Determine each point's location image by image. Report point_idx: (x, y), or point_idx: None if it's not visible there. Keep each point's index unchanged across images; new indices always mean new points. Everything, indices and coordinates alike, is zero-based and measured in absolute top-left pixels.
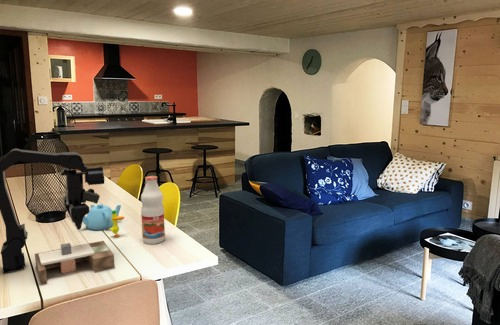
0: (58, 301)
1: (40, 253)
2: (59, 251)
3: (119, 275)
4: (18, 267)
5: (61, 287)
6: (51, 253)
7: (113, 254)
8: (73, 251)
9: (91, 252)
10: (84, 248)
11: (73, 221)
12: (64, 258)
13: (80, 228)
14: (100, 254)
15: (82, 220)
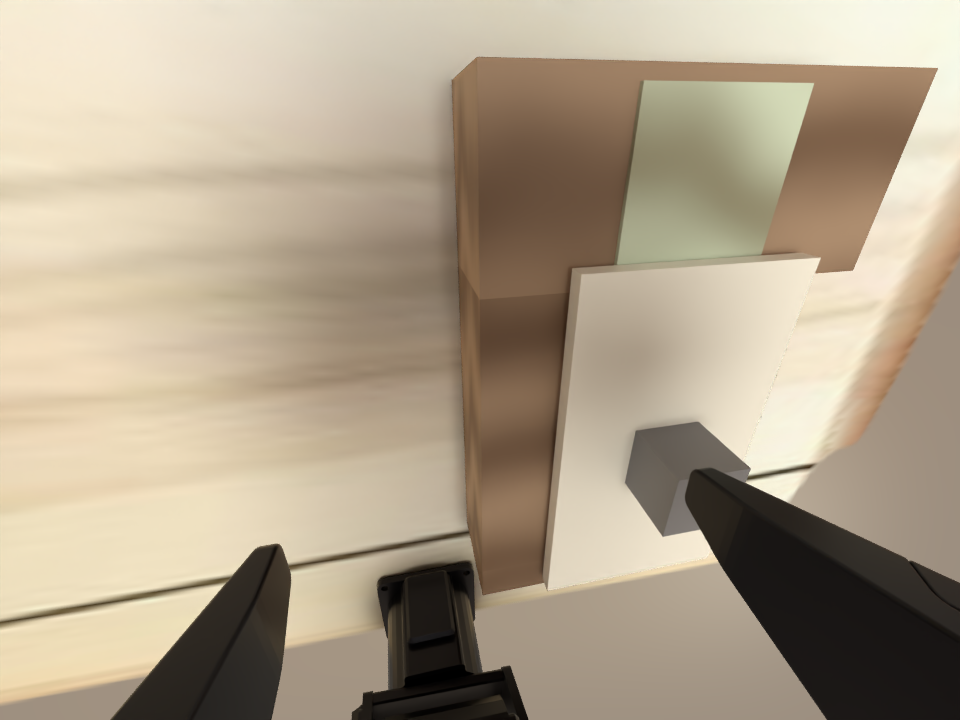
0: (871, 417)
1: (553, 582)
2: (597, 494)
3: (930, 88)
4: (462, 588)
5: (776, 409)
6: (597, 531)
7: (930, 68)
8: (668, 409)
9: (801, 280)
10: (670, 327)
11: (288, 591)
12: (742, 460)
13: (721, 474)
14: (822, 196)
15: (946, 579)
